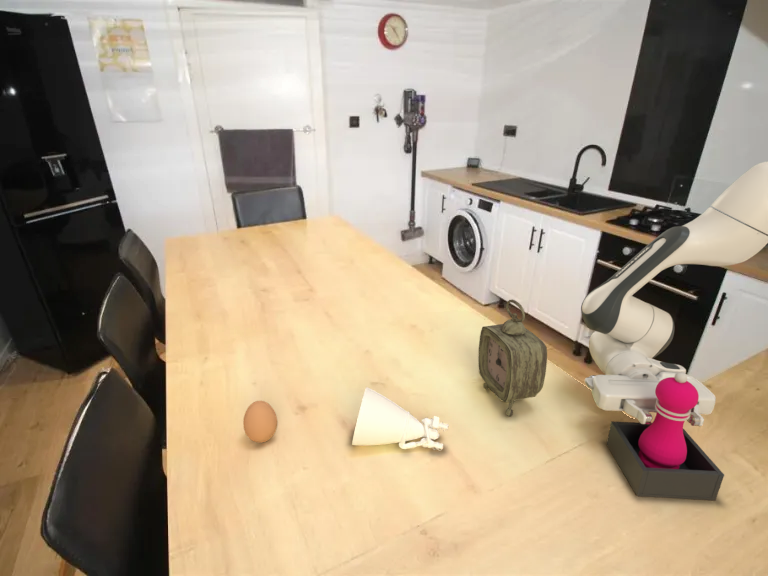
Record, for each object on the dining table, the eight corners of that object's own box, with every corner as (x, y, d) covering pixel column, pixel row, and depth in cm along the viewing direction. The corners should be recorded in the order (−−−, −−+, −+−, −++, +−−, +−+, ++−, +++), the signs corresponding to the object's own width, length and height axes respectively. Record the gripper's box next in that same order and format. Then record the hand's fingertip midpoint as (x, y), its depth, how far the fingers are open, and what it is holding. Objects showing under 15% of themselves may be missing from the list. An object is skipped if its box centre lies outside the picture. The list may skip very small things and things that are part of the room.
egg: (244, 434, 87) (238, 398, 84) (276, 425, 89) (271, 389, 86) (248, 454, 81) (242, 416, 78) (282, 444, 84) (277, 407, 80)
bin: (673, 447, 80) (679, 424, 78) (715, 500, 69) (724, 474, 67) (606, 444, 82) (611, 421, 80) (636, 496, 70) (643, 470, 68)
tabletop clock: (476, 385, 102) (482, 292, 93) (508, 380, 104) (518, 287, 95) (506, 422, 88) (517, 317, 80) (543, 415, 90) (557, 311, 82)
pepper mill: (665, 488, 70) (693, 390, 63) (625, 461, 76) (647, 368, 70) (689, 473, 74) (718, 377, 67) (648, 447, 80) (672, 358, 73)
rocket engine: (456, 402, 80) (367, 380, 80) (447, 465, 74) (351, 441, 75) (445, 414, 90) (365, 394, 91) (436, 469, 84) (352, 448, 85)
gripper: (583, 362, 83) (612, 404, 70) (690, 365, 81) (741, 409, 68) (579, 389, 85) (606, 434, 72) (683, 392, 83) (730, 439, 70)
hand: (672, 422), depth 70 cm, fingers open, 7 cm apart
